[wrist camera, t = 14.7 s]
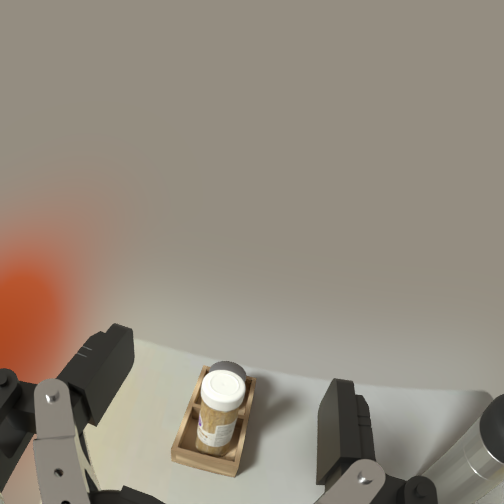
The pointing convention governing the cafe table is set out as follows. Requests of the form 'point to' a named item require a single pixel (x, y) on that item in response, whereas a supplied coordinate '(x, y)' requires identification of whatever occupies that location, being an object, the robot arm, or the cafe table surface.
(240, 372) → the honey jar
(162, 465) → the cafe table surface
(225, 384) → the sprinkles bottle
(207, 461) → the caddy
